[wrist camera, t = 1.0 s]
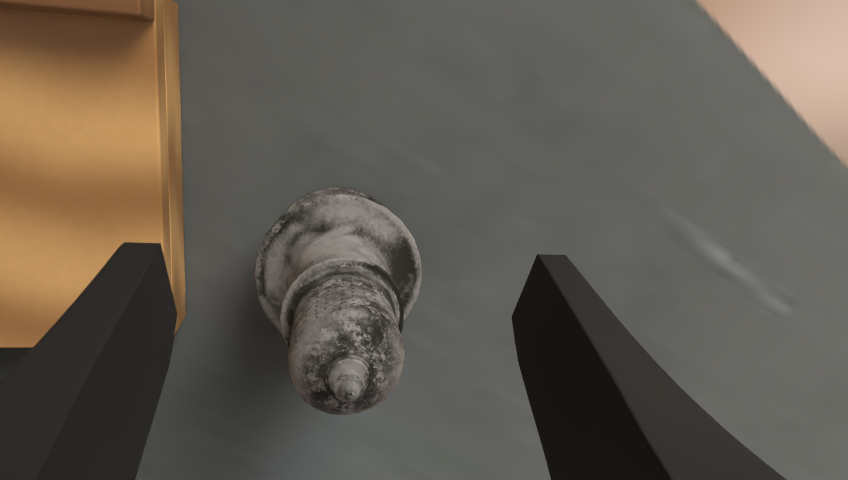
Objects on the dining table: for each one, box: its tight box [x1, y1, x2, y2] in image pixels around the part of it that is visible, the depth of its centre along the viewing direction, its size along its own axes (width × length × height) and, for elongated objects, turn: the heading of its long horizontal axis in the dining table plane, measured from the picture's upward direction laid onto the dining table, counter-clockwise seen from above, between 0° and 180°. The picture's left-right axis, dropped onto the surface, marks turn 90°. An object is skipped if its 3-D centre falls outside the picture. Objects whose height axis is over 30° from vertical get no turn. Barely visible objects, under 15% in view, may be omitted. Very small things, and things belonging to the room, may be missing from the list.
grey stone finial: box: [254, 187, 422, 415], centre depth 18 cm, size 6×6×12 cm
